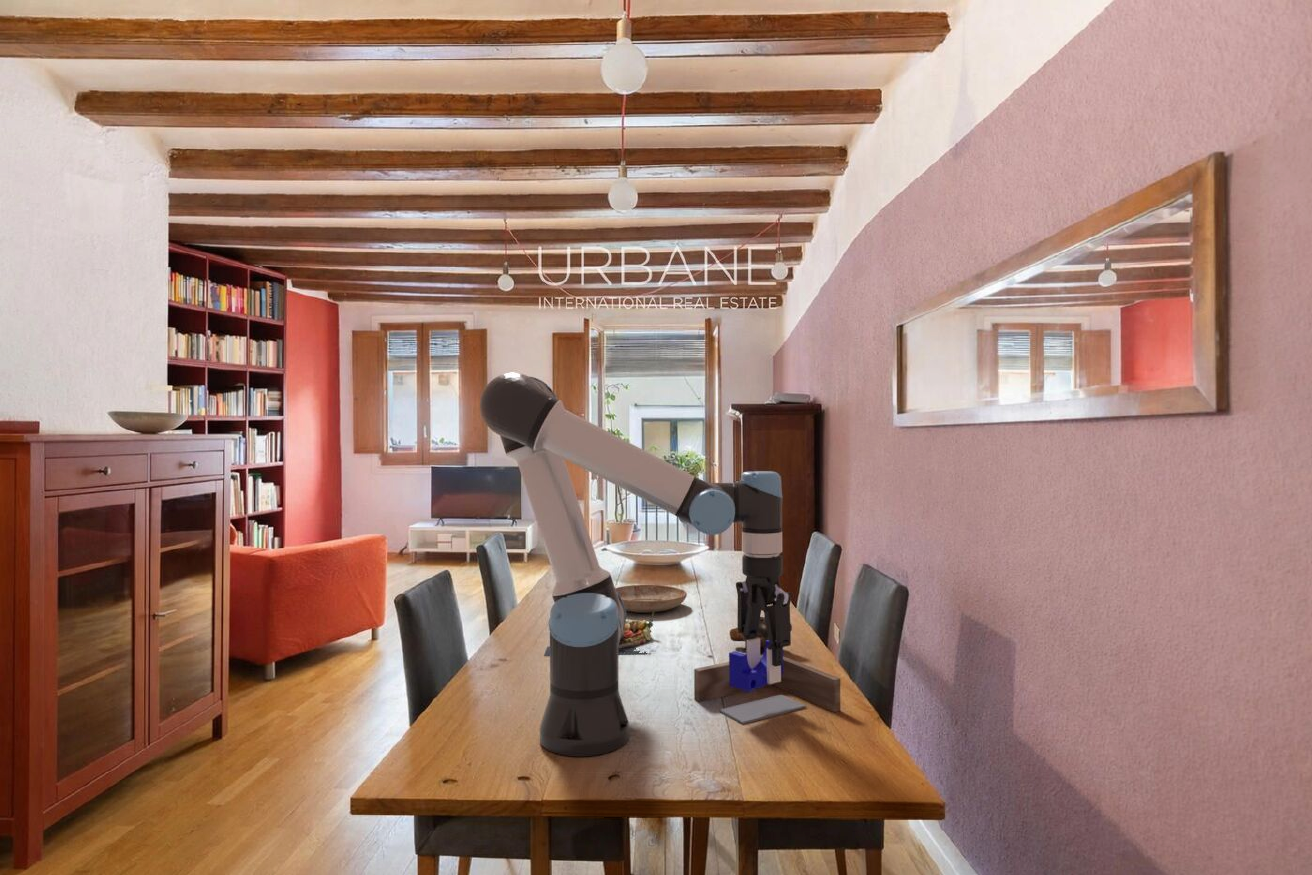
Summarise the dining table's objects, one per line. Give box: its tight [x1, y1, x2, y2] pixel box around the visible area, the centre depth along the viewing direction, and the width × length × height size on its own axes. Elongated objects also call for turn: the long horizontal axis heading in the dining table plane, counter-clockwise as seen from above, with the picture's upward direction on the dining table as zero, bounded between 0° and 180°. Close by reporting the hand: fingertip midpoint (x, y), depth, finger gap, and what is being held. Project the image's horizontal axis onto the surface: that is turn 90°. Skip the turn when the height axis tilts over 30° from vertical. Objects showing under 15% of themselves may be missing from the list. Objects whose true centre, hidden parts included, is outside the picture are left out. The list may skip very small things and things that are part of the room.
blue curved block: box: [728, 640, 784, 693], centre depth 138 cm, size 12×4×6 cm, turn 133°
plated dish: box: [543, 612, 655, 657], centre depth 183 cm, size 35×28×7 cm
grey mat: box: [718, 693, 806, 725], centre depth 138 cm, size 15×7×1 cm, turn 121°
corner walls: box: [693, 654, 841, 713], centre depth 141 cm, size 20×19×6 cm
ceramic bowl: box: [615, 584, 688, 614], centre depth 218 cm, size 23×24×5 cm
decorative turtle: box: [729, 616, 793, 651], centre depth 176 cm, size 10×15×8 cm, turn 73°
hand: (763, 677), depth 138 cm, fingers closed on blue curved block, 5 cm apart
